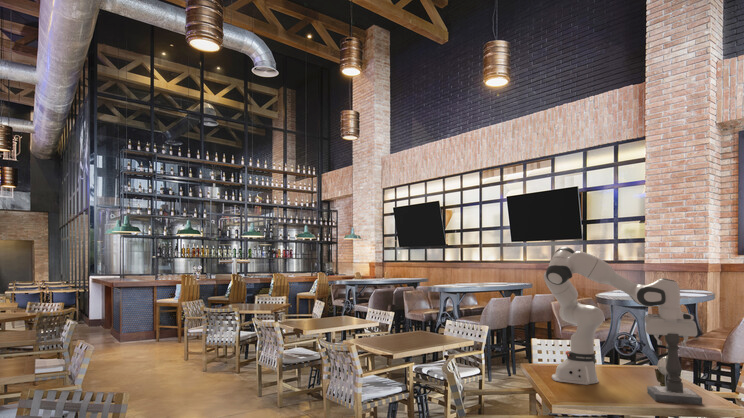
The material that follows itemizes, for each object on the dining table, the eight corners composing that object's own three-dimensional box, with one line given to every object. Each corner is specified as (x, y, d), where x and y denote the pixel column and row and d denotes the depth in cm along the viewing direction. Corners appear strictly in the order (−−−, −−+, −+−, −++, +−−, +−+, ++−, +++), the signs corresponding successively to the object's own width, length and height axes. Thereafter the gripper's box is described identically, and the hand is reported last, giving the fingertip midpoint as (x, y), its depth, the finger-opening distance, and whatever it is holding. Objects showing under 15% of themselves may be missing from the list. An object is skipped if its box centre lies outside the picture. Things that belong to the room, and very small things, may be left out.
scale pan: (660, 394, 213) (660, 391, 214) (653, 388, 224) (653, 385, 224) (696, 397, 209) (696, 394, 209) (688, 390, 220) (688, 388, 220)
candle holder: (683, 392, 212) (679, 334, 215) (666, 390, 216) (663, 333, 218) (682, 389, 218) (679, 332, 220) (666, 387, 221) (663, 331, 223)
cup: (675, 388, 235) (674, 371, 235) (659, 387, 236) (658, 371, 237) (669, 384, 242) (668, 368, 243) (653, 384, 243) (652, 367, 244)
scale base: (655, 401, 214) (653, 360, 216) (647, 392, 227) (645, 354, 229) (702, 404, 208) (699, 363, 210) (691, 396, 222) (689, 357, 224)
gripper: (646, 314, 220) (647, 345, 219) (697, 316, 214) (699, 348, 213) (642, 312, 226) (644, 343, 225) (692, 314, 220) (694, 345, 219)
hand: (671, 345), depth 219 cm, fingers open, 8 cm apart
